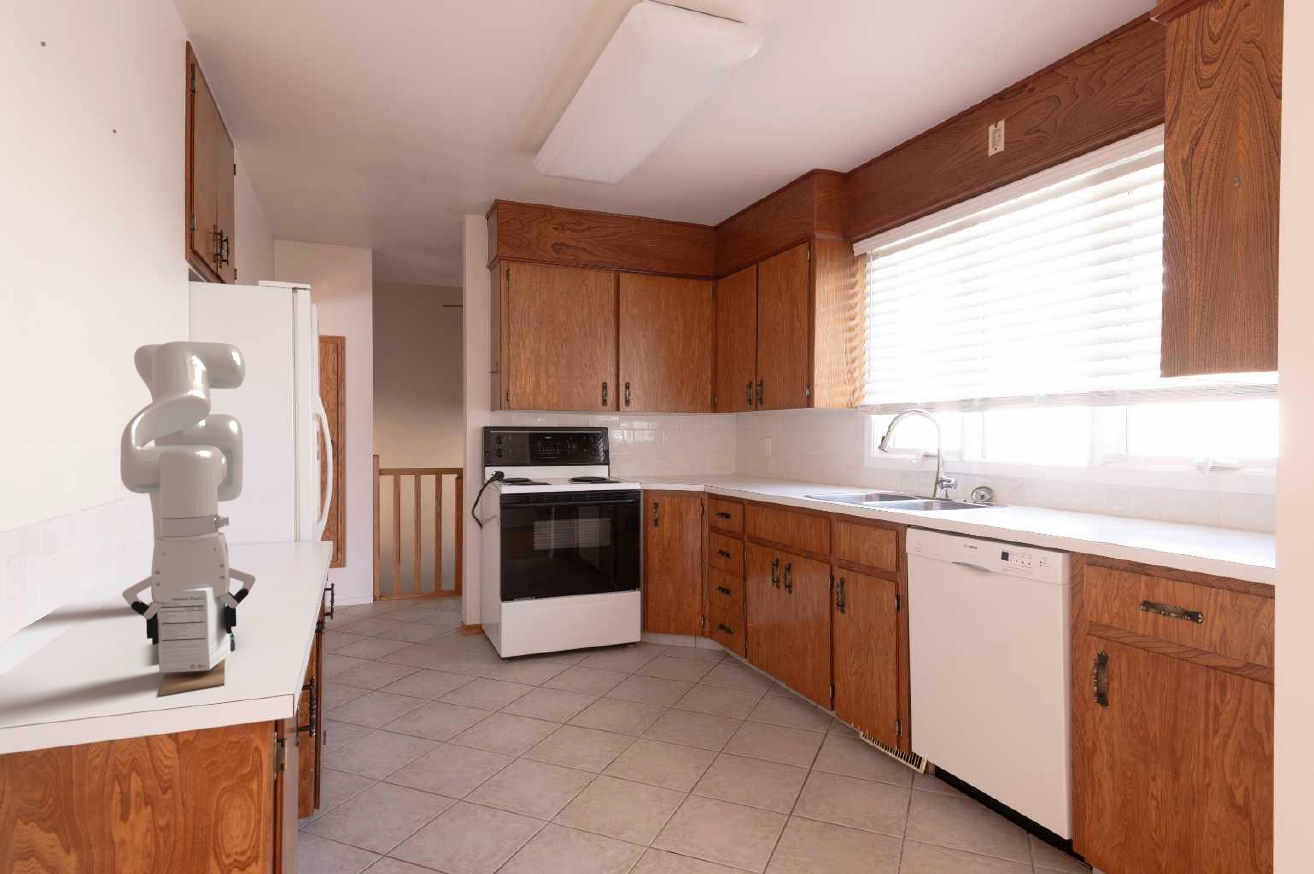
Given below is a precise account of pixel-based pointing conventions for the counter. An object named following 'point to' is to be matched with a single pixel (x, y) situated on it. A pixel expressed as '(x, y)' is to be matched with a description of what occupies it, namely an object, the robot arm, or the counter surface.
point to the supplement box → (192, 631)
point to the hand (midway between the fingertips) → (193, 636)
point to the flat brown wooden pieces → (192, 680)
